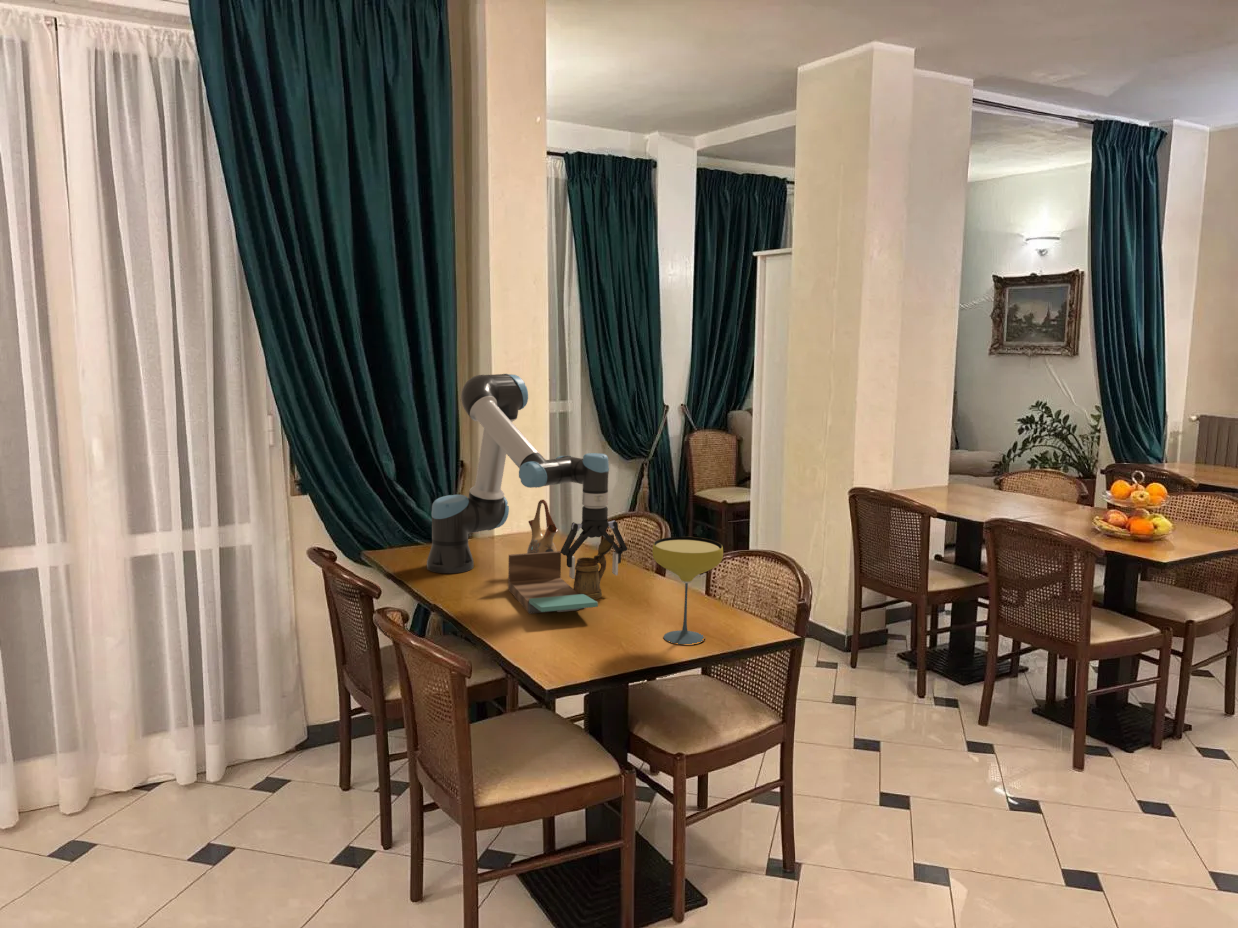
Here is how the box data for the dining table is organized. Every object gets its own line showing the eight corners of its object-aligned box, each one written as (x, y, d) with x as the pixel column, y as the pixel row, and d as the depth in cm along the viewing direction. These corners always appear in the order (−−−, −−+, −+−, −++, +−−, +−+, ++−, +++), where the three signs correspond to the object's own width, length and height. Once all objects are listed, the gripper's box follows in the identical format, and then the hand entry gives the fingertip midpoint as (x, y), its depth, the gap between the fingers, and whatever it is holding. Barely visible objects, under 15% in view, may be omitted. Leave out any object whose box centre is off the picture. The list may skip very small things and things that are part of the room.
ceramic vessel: (518, 571, 295) (518, 496, 291) (543, 568, 300) (544, 494, 296) (540, 584, 281) (541, 505, 277) (566, 580, 286) (567, 502, 282)
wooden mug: (620, 595, 271) (621, 537, 268) (580, 602, 264) (581, 541, 262) (605, 588, 279) (606, 531, 276) (566, 594, 272) (567, 535, 269)
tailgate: (529, 598, 252) (541, 607, 241) (583, 593, 258) (597, 602, 247) (529, 605, 252) (541, 614, 241) (583, 600, 258) (597, 609, 247)
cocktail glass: (733, 638, 236) (737, 545, 232) (691, 656, 223) (694, 557, 219) (678, 622, 248) (681, 533, 244) (635, 638, 235) (638, 544, 231)
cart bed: (508, 589, 274) (508, 554, 273) (558, 585, 280) (559, 551, 278) (529, 613, 252) (529, 575, 251) (583, 608, 258) (584, 571, 256)
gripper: (558, 510, 259) (557, 582, 263) (638, 506, 268) (637, 575, 272) (550, 505, 266) (549, 575, 270) (629, 501, 275) (627, 569, 278)
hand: (593, 575), depth 271 cm, fingers open, 13 cm apart
